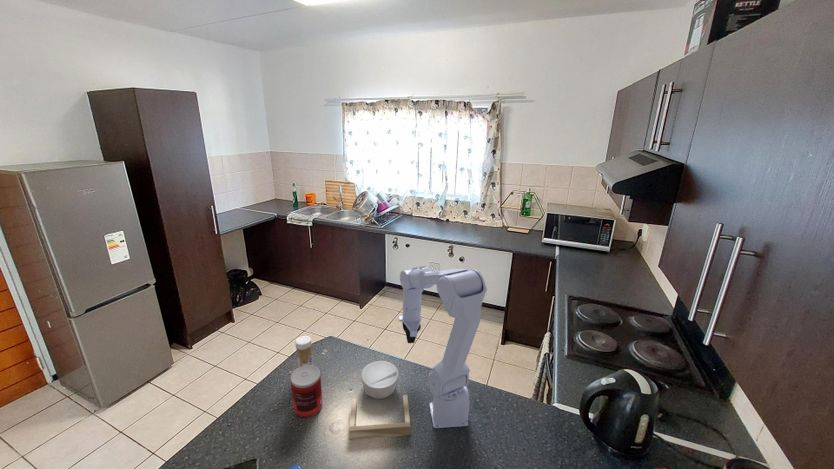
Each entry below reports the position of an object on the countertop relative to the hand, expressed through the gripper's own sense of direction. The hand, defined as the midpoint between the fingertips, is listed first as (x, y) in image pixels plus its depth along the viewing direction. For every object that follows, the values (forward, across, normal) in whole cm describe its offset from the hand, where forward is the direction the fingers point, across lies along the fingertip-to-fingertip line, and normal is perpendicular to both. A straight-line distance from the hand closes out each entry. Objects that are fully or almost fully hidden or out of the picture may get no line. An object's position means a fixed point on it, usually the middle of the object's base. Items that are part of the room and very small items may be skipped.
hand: (410, 341), depth 104 cm
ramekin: (+10, +8, -10) cm, 16 cm away
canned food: (+10, +14, -30) cm, 34 cm away
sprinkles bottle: (+10, +2, -33) cm, 34 cm away
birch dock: (+9, +20, -10) cm, 24 cm away
